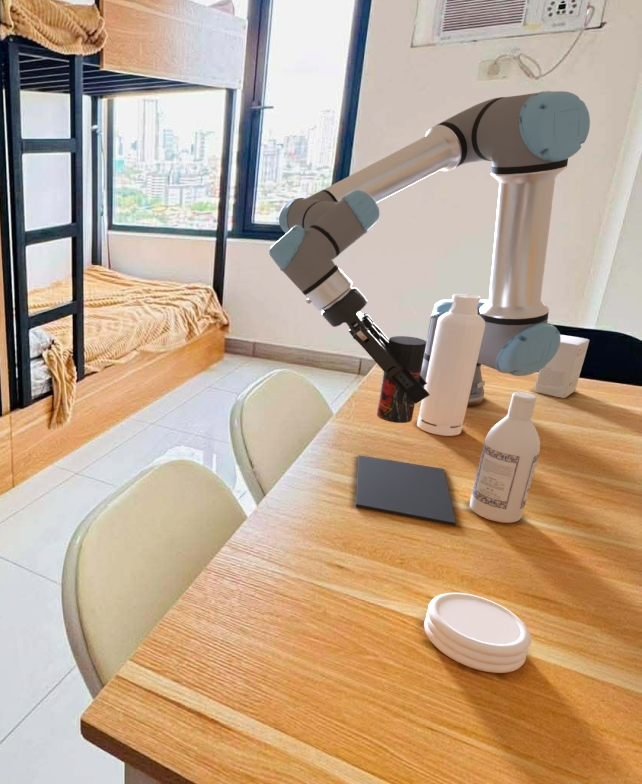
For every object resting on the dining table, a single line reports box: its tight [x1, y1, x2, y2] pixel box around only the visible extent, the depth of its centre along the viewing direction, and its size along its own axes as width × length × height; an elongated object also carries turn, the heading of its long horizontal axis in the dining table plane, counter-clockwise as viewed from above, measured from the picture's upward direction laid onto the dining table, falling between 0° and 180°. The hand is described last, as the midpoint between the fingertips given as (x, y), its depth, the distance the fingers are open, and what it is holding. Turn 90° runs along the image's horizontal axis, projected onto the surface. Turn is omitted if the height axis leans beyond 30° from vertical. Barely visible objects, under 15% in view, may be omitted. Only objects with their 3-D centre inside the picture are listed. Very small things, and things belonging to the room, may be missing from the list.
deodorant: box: [376, 335, 427, 424], centre depth 116 cm, size 6×6×15 cm
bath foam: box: [469, 391, 541, 524], centre depth 96 cm, size 7×7×20 cm
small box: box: [533, 334, 590, 399], centre depth 149 cm, size 8×6×13 cm
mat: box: [355, 454, 457, 527], centre depth 108 cm, size 20×14×1 cm
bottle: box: [416, 293, 485, 437], centre depth 127 cm, size 8×8×28 cm
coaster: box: [423, 592, 532, 674], centre depth 72 cm, size 10×10×4 cm
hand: (421, 392), depth 115 cm, fingers closed on deodorant, 6 cm apart
